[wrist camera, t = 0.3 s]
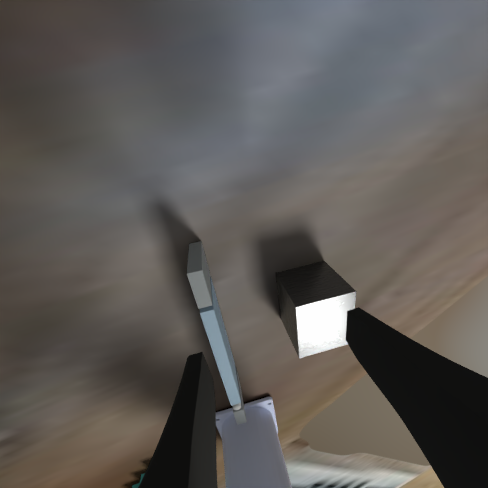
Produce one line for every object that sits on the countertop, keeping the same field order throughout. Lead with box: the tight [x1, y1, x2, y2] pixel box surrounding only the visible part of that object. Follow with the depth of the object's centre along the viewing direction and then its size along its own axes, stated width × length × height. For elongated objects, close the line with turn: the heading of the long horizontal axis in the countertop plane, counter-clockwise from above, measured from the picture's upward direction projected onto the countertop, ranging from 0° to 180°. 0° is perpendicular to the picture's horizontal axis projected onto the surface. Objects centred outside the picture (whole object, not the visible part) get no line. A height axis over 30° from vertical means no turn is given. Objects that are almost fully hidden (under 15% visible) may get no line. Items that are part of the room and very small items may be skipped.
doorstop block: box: [276, 261, 356, 358], centre depth 20 cm, size 6×5×5 cm
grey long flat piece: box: [187, 241, 247, 425], centre depth 20 cm, size 19×1×5 cm, turn 9°
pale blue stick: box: [200, 276, 241, 406], centre depth 20 cm, size 12×1×4 cm, turn 9°
